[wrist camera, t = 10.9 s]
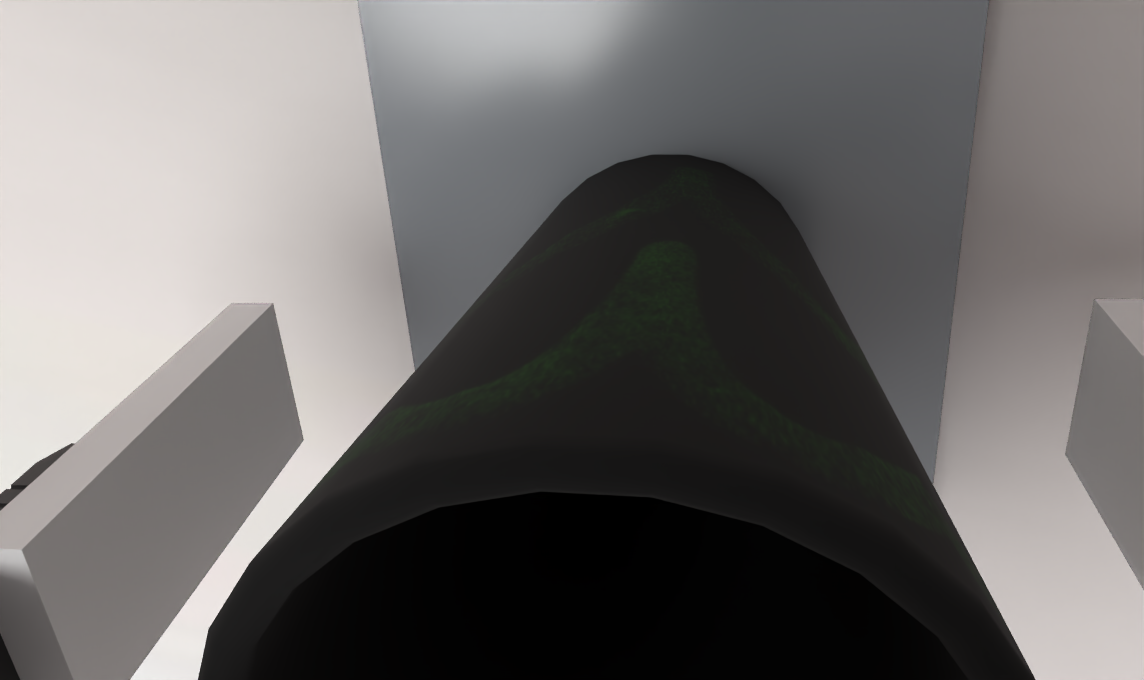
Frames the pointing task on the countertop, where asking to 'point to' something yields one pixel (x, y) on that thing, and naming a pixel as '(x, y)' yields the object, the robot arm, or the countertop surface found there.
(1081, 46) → the countertop surface
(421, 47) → the plate
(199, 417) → the robot arm
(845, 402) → the cup
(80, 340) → the countertop surface
